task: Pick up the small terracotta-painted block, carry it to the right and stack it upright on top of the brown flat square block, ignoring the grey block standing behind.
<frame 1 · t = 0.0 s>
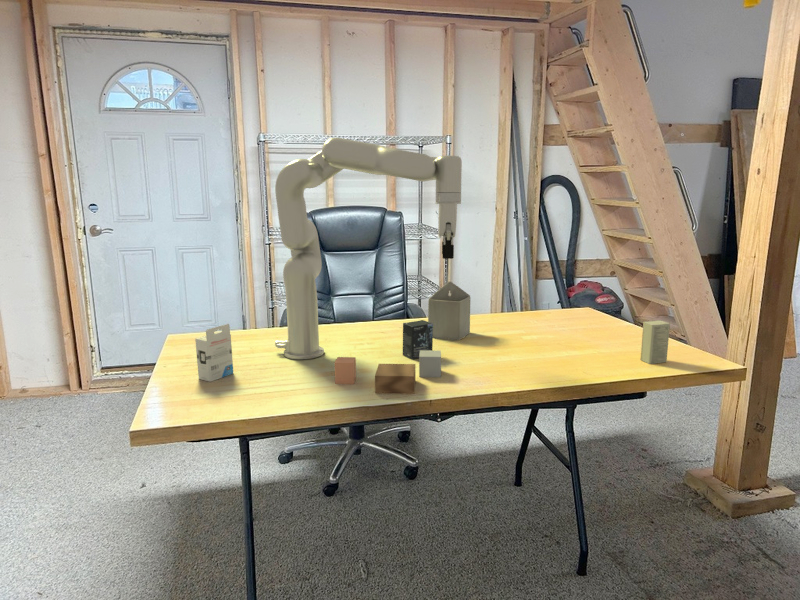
hand: (447, 256, 170), 31 cm above the table, fingers open, 9 cm apart
box: (417, 356, 177), on the table
brown flat square block: (395, 387, 149), on the table
grey block: (430, 373, 160), on the table
planter: (453, 337, 197), on the table
ink box: (216, 377, 158), on the table
terracotta block: (345, 380, 154), on the table
skincare box: (653, 362, 170), on the table
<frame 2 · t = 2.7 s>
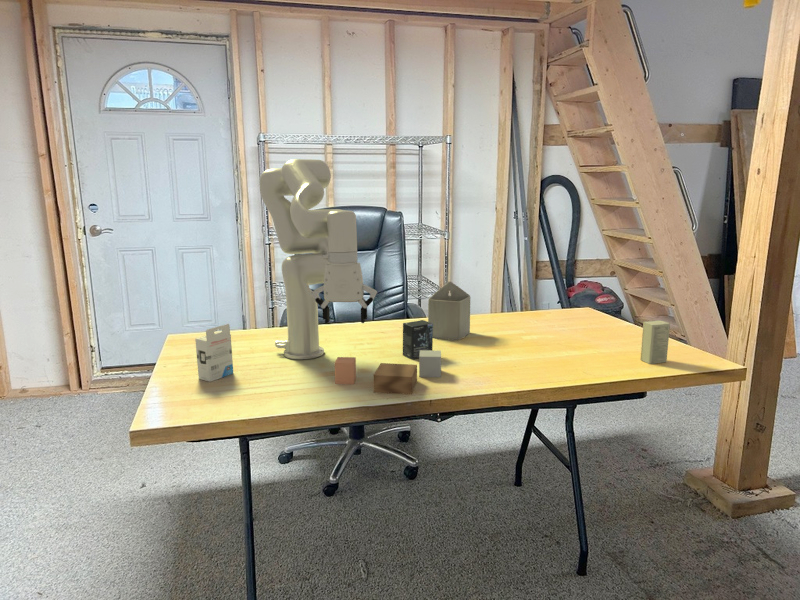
hand: (345, 322, 150), 17 cm above the table, fingers open, 9 cm apart
nothing on the table moved.
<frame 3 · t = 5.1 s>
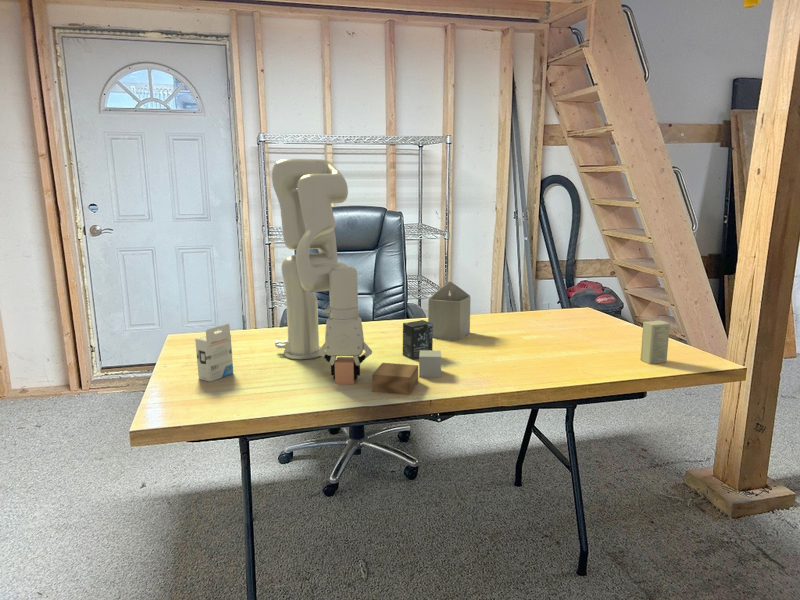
hand: (345, 377, 154), 1 cm above the table, fingers closed on terracotta block, 5 cm apart
terracotta block: (345, 380, 154), on the table, touching gripper
everything else where it was.
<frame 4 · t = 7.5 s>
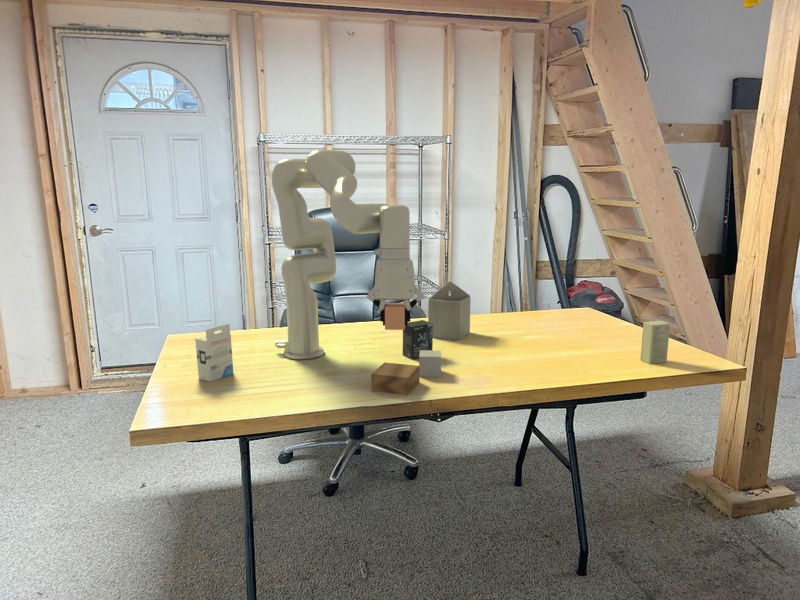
hand: (395, 323, 146), 17 cm above the table, fingers closed on terracotta block, 5 cm apart
terracotta block: (395, 327, 146), point 16 cm above the table, touching gripper
everything else where it was.
when the fingers open (7 cm above the table, at t = 10.1 s): terracotta block drops 1 cm, resting on brown flat square block.
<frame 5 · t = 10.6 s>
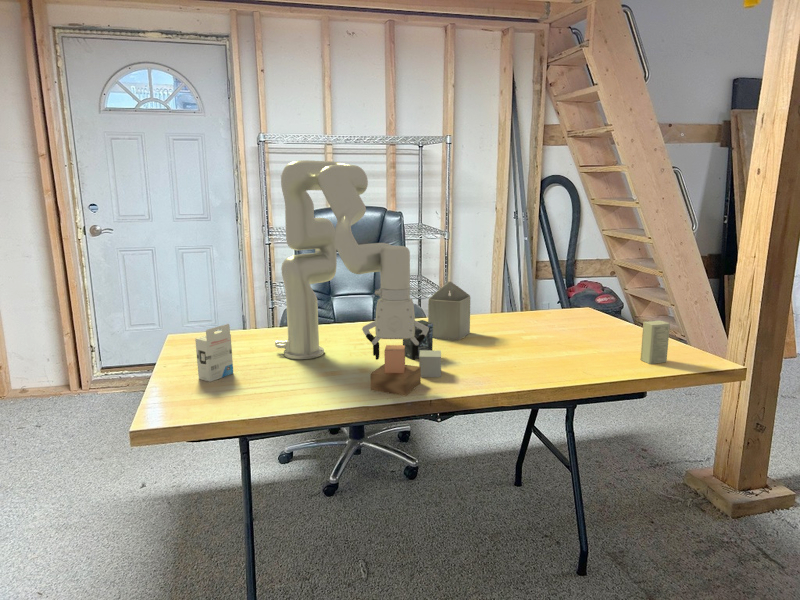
hand: (395, 358, 148), 8 cm above the table, fingers open, 9 cm apart
brown flat square block: (396, 387, 149), on the table, touching terracotta block
terracotta block: (395, 369, 149), point 5 cm above the table, touching brown flat square block
everything else where it was.
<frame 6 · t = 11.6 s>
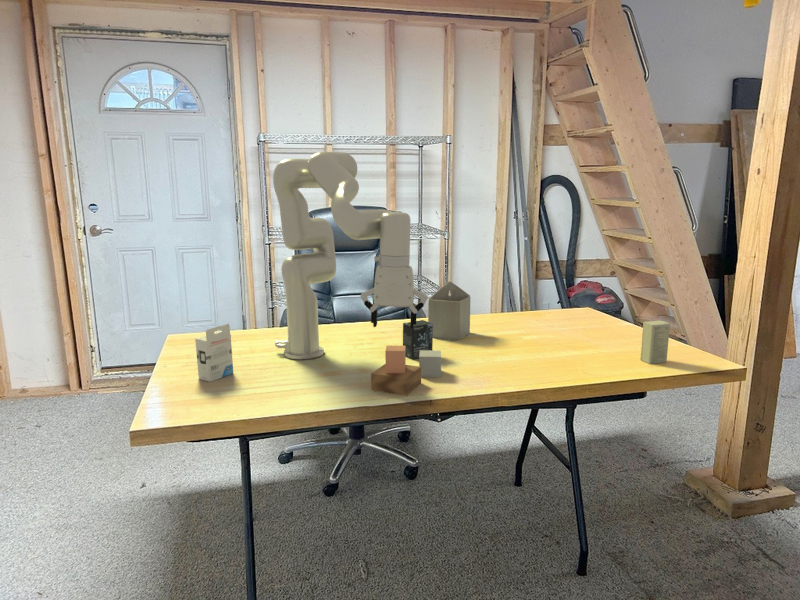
hand: (393, 326, 147), 16 cm above the table, fingers open, 9 cm apart
brown flat square block: (396, 387, 150), on the table
terracotta block: (395, 370, 148), point 5 cm above the table
everything else where it was.
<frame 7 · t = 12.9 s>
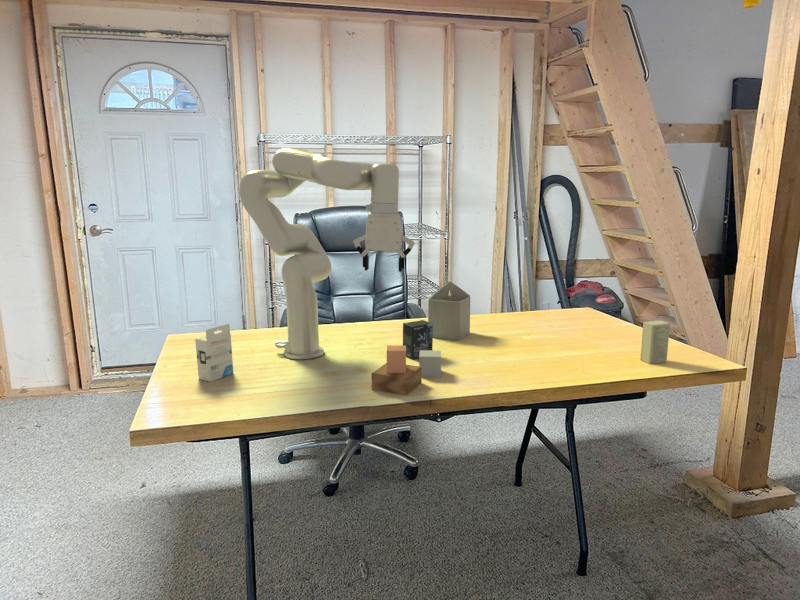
hand: (383, 270, 160), 29 cm above the table, fingers open, 9 cm apart
brown flat square block: (397, 387, 150), on the table, touching terracotta block
terracotta block: (396, 370, 148), point 5 cm above the table, touching brown flat square block
everything else where it was.
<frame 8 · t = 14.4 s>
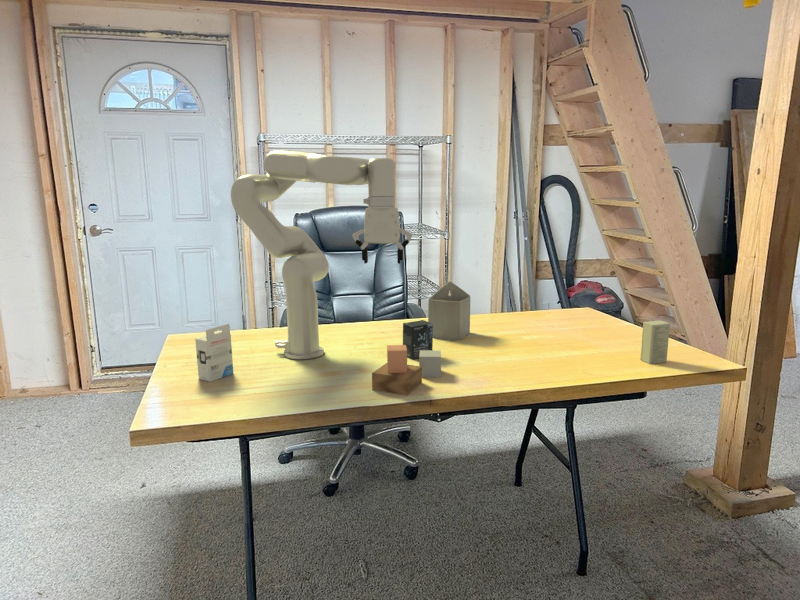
hand: (382, 262, 163), 30 cm above the table, fingers open, 9 cm apart
nothing on the table moved.
at the end: terracotta block inside the target area on the brown flat square block (0.2 cm from its centre), point 5.0 cm above the brown flat square block's base; terracotta block tilted 0°; the gripper is holding nothing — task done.
